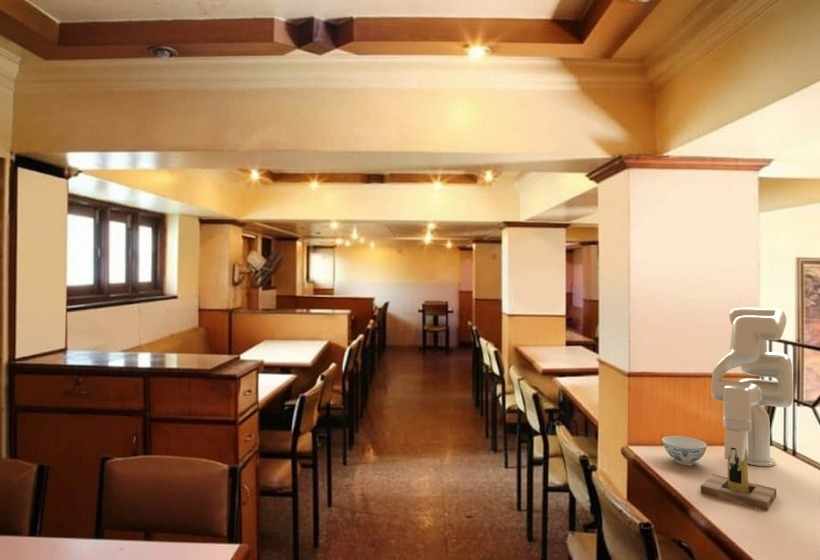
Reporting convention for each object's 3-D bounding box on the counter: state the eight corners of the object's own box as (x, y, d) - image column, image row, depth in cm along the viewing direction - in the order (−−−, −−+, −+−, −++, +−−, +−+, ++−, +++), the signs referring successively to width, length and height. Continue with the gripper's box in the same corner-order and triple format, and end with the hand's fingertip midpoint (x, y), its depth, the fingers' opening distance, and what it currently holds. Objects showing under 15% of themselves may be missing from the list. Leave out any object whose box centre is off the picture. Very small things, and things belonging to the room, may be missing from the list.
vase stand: (712, 480, 171) (712, 473, 171) (776, 496, 159) (776, 488, 159) (700, 493, 162) (700, 485, 162) (767, 510, 149) (767, 502, 149)
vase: (753, 496, 157) (752, 451, 157) (731, 494, 158) (731, 450, 158) (744, 488, 163) (743, 444, 163) (723, 486, 164) (723, 443, 164)
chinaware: (691, 454, 198) (691, 435, 198) (716, 468, 183) (715, 447, 183) (654, 455, 197) (654, 436, 197) (676, 469, 182) (676, 448, 182)
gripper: (730, 416, 169) (731, 469, 169) (716, 427, 157) (717, 483, 157) (756, 420, 164) (757, 475, 164) (744, 432, 152) (745, 490, 152)
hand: (738, 478), depth 160 cm, fingers closed on vase, 5 cm apart
